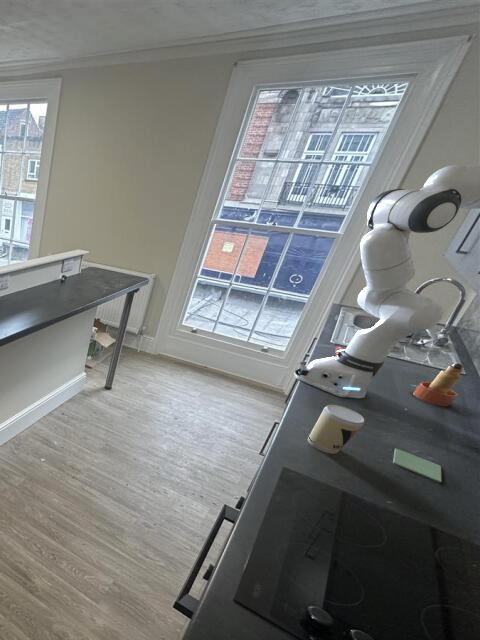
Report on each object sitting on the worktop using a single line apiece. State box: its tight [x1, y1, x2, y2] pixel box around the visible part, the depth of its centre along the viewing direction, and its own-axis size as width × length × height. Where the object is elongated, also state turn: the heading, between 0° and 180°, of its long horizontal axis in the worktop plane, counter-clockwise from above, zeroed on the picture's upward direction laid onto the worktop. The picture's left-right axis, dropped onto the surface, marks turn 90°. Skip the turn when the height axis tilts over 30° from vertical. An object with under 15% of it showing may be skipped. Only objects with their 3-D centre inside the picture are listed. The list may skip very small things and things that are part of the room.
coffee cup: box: [307, 404, 365, 455], centre depth 118 cm, size 9×9×12 cm
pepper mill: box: [428, 363, 464, 395], centre depth 148 cm, size 5×5×15 cm
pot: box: [412, 381, 459, 407], centre depth 151 cm, size 10×10×5 cm
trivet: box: [392, 447, 443, 484], centre depth 116 cm, size 10×10×1 cm
